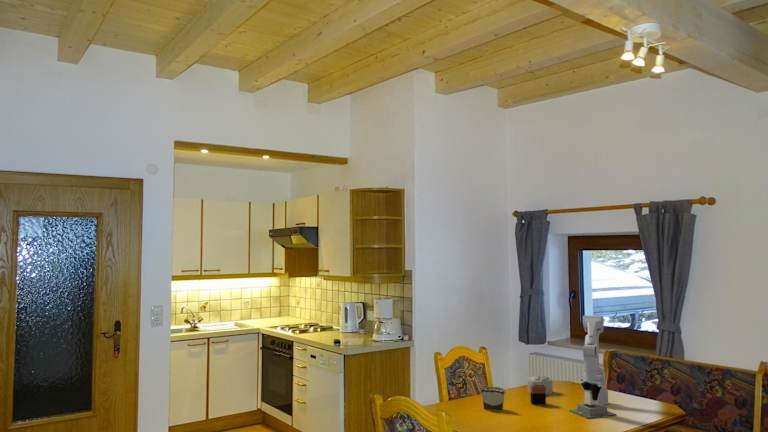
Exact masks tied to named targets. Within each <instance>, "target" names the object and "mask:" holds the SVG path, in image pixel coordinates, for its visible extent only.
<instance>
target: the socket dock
mask: <svg viewBox="0 0 768 432" xmlns="http://www.w3.org/2000/svg"><path fill="white" fill-rule="evenodd" d="M568 412H570V413H572V414H575V415H578V416H580V417H583V418H585V419H587V420H590V419H596V418H605V417H615V416H617V414H616V413H614V412H612V411H609V410H608V406H606V405H601V404H594V405H589V404H586V403H585V402H584V403H578V404H577V407H576V408H575V409H569V410H568Z"/></svg>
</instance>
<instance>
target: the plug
mask: <svg viewBox="0 0 768 432" xmlns="http://www.w3.org/2000/svg"><path fill="white" fill-rule="evenodd" d="M583 391H584V401H585V402H584V403H586V404H589V405H594V404H599V395H598V399H597V400H595V401H594V400H593V399H592V392H591V390H584V389H583Z"/></svg>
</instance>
